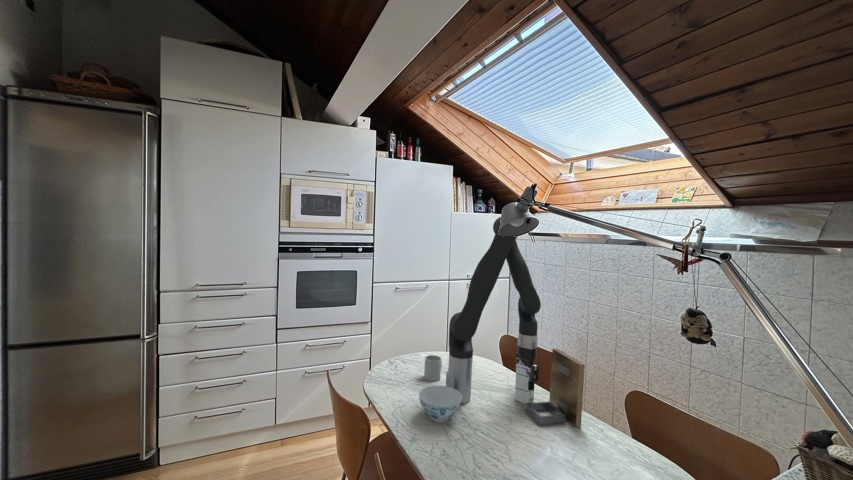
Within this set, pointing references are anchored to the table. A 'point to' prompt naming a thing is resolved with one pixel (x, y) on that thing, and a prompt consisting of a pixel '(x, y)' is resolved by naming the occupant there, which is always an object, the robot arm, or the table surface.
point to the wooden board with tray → (562, 393)
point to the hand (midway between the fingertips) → (525, 385)
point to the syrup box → (522, 384)
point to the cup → (432, 368)
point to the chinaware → (440, 402)
